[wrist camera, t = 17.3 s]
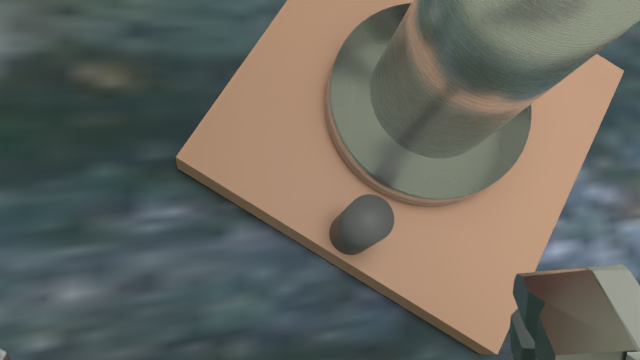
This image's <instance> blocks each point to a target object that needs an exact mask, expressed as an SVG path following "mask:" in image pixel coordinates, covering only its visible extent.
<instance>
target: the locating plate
mask: <svg viewBox="0 0 640 360" xmlns="http://www.w3.org/2000/svg"><path fill="white" fill-rule="evenodd" d="M412 1H413V0H287V1H286V3H285V4H284V6H283V7H282V8H281V10H280V11H279V13H278V14H277V15H276V17H275V18H274V20H273V21H272V23H271V24H270V25H269V27H268V28H267V30H266V31H265V32H264V34H263V35H262V37H261V38H260V39H259V41H258V42H257V44H256V45H255V46H254V48H253V49H252V51H251V52H250V53H249V55H248V56H247V58H246V59H245V60H244V62H243V63H242V65H241V66H240V67H239V69H238V70H237V72H236V73H235V75H234V76H233V77H232V79H231V80H230V82H229V83H228V84H227V86H226V87H225V89H224V90H223V91H222V93H221V94H220V96H219V97H218V98H217V100H216V101H215V103H214V104H213V105H212V107H211V108H210V110H209V111H208V112H207V114H206V115H205V117H204V118H203V119H202V121H201V122H200V124H199V125H198V126H197V128H196V129H195V131H194V132H193V134H192V135H191V136H190V138H189V139H188V141H187V142H186V143H185V145H184V146H183V148H182V149H181V150H180V152H179V153H178V155H177V156H176V162H177V168H178V169H179V170H181V171H183V172H184V173H186V174H187V175H189V176H191V177H192V178H194V179H196V180H197V181H199V182H200V183H202V184H204V185H205V186H207V187H209V188H210V189H212V190H213V191H215V192H217V193H218V194H220V195H222V196H223V197H225V198H226V199H228V200H230V201H231V202H233V203H235V204H236V205H238V206H240V207H241V208H243V209H244V210H246V211H248V212H249V213H251V214H253V215H254V216H256V217H257V218H259V219H261V220H262V221H264V222H266V223H267V224H269V225H270V226H272V227H274V228H275V229H277V230H279V231H280V232H282V233H283V234H285V235H287V236H288V237H290V238H292V239H293V240H295V241H296V242H298V243H300V244H301V245H303V246H305V247H306V248H308V249H309V250H311V251H313V252H314V253H316V254H318V255H319V256H321V257H323V258H324V259H326V260H327V261H329V262H331V263H332V264H334V265H336V266H337V267H339V268H340V269H342V270H344V271H345V272H347V273H349V274H350V275H352V276H353V277H355V278H357V279H358V280H360V281H362V282H363V283H365V284H366V285H368V286H370V287H371V288H373V289H375V290H376V291H378V292H379V293H381V294H383V295H384V296H386V297H388V298H389V299H391V300H392V301H394V302H396V303H397V304H399V305H401V306H402V307H404V308H406V309H407V310H409V311H410V312H412V313H414V314H415V315H417V316H419V317H420V318H422V319H423V320H425V321H427V322H428V323H430V324H432V325H433V326H435V327H436V328H438V329H440V330H441V331H443V332H445V333H446V334H448V335H449V336H451V337H453V338H454V339H456V340H458V341H459V342H461V343H462V344H464V345H466V346H467V347H469V348H471V349H472V350H474V351H475V352H477V353H479V354H486V355H497V354H498V352H499V350H500V348H501V346H502V343H503V341H504V339H505V337H506V334H507V332H508V330H509V328H510V319H511V315H512V314H513V313H514V312H515V311H516V310H517V308H518V307H517V304H516V301H515V299H514V296H513V285H514V279H515V277H516V274H518V273H530V272H535V269H536V267H537V265H538V263H539V260H540V258H541V256H542V254H543V251H544V249H545V247H546V245H547V242H548V240H549V238H550V236H551V233H552V231H553V229H554V227H555V225H556V222H557V220H558V218H559V216H560V213H561V211H562V209H563V207H564V204H565V202H566V200H567V198H568V195H569V193H570V191H571V189H572V186H573V184H574V182H575V180H576V177H577V175H578V173H579V171H580V169H581V166H582V164H583V162H584V160H585V157H586V155H587V153H588V151H589V148H590V146H591V144H592V142H593V139H594V137H595V135H596V133H597V130H598V128H599V126H600V124H601V121H602V119H603V117H604V115H605V113H606V110H607V108H608V106H609V104H610V101H611V99H612V97H613V95H614V92H615V90H616V88H617V86H618V83H619V81H620V79H621V77H622V74H623V72H624V71H623V70H622V69H620V68H618V67H617V66H615V65H614V64H612V63H610V62H609V61H607V60H606V59H604V58H602V57H601V56H599V55H598V54H596V55H594V56H593V57H592V58H590V59H589V60H588V61H587V62H585V63H584V64H583V65H581V66H580V67H579V68H577V69H576V70H575V71H574V72H572V73H571V74H570V75H568V76H567V77H566V78H564V79H563V80H562V81H561V82H559V83H558V84H557V85H555V86H554V87H553V88H551V89H550V90H549V91H548V92H546V93H545V94H544V95H542V96H541V97H540V98H538V99H537V100H536V101H535V102H533V103H532V104H531V110H532V118H531V126H530V131H529V135H528V139H527V142H526V144H525V147H524V149H523V152H522V153H521V155H520V157H519V158H518V160H517V162H516V163H515V164H514V165H513V167H512V168H511V169H510V170H509V171H508V172H507V173H506V174H505V175H504V176H503V177H502V178H500V179H499V180H498V181H496V182H495V183H493V184H492V185H490V186H489V187H487V188H485V189H484V190H482V191H480V192H479V193H477V194H475V195H473V196H472V197H469V198H467V199H465V200H463V201H460V202H457V203H454V204H450V205H444V206H438V207H422V206H414V205H408V204H404V203H400V202H397V201H395V200H392V199H390V198H387V197H385V196H383V195H381V194H379V193H378V192H376V191H374V190H372V189H371V188H370V187H368V186H367V185H365V184H364V183H363V182H362V181H361V180H359V179H358V178H357V177H356V176H355V175H354V174H353V173H352V172H351V171H350V169H349V168H348V167H347V166H346V165H345V164H344V162H343V161H342V159H341V158H340V156H339V154H338V153H337V151H336V149H335V147H334V145H333V143H332V141H331V138H330V135H329V132H328V129H327V125H326V120H325V114H324V95H325V88H326V84H327V79H328V77H329V74H330V71H331V69H332V66H333V64H334V62H335V59H336V57H337V55H338V52H339V50H340V48H341V47H342V45H343V43H344V41H345V40H346V38H347V37H348V36H349V35H350V33H351V32H352V31H353V30H354V29H355V28H356V27H357V26H358V25H359V24H360V23H361V22H363V21H364V20H366V19H367V18H368V17H370V16H371V15H373V14H375V13H377V12H379V11H381V10H384V9H386V8H389V7H392V6H396V5H401V4H407V3H412Z"/></svg>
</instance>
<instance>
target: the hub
mask: <svg viewBox="0 0 640 360" xmlns="http://www.w3.org/2000/svg"><path fill="white" fill-rule="evenodd" d="M639 21H640V0H413V1H412V3H407V4H401V5H396V6H392V7H389V8H386V9H384V10H381V11H379V12H377V13H375V14H373V15H371V16H370V17H368V18H367V19H366V20H364V21H363V22H361V23H360V24H359V25H358V26H357V27H356V28H355V29H354V30H353V31H352V32H351V33H350V35H349V36H348V37H347V38H346V40H345V41H344V43H343V45H342V47H341V48H340V50H339V52H338V55H337V57H336V59H335V62H334V64H333V66H332V69H331V71H330V74H329V77H328V79H327V84H326V88H325V95H324V114H325V120H326V125H327V129H328V132H329V135H330V138H331V141H332V143H333V145H334V147H335V149H336V151H337V153H338V154H339V156H340V158H341V159H342V161H343V162H344V164H345V165H346V166H347V167H348V168H349V169H350V171H351V172H352V173H353V174H354V175H355V176H356V177H357V178H358V179H359V180H361V181H362V182H363V183H364V184H365V185H367V186H368V187H370V188H371V189H372V190H374V191H376V192H378V193H379V194H381V195H383V196H385V197H387V198H390V199H392V200H395V201H397V202H400V203H404V204H408V205H414V206H422V207H438V206H444V205H450V204H454V203H457V202H460V201H463V200H465V199H467V198H469V197H472V196H473V195H475V194H477V193H479V192H480V191H482V190H484V189H485V188H487V187H489V186H490V185H492V184H493V183H495V182H496V181H498V180H499V179H500V178H502V177H503V176H504V175H505V174H506V173H507V172H508V171H509V170H510V169H511V168H512V167H513V165H514V164H515V163H516V162H517V160H518V158H519V157H520V155H521V153H522V152H523V149H524V147H525V144H526V142H527V139H528V135H529V131H530V126H531V118H532V110H531V104H532V103H533V102H535V101H536V100H537V99H538V98H540V97H541V96H542V95H544V94H545V93H546V92H548V91H549V90H550V89H551V88H553V87H554V86H555V85H557V84H558V83H559V82H561V81H562V80H563V79H564V78H566V77H567V76H568V75H570V74H571V73H572V72H574V71H575V70H576V69H577V68H579V67H580V66H581V65H583V64H584V63H585V62H587V61H588V60H589V59H590V58H592V57H593V56H594V55H596V54H597V53H598V52H600V51H601V50H602V49H603V48H605V47H606V46H607V45H609V44H610V43H611V42H613V41H614V40H615V39H616V38H618V37H619V36H620V35H622V34H623V33H624V32H626V31H627V30H628V29H629V28H631V27H632V26H633V25H635V24H636V23H637V22H639Z"/></svg>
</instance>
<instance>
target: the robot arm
mask: <svg viewBox="0 0 640 360" xmlns="http://www.w3.org/2000/svg"><path fill="white" fill-rule="evenodd" d="M513 296H514V299H515V301H516V304H517V307H518V308H517V310H516V311H515V312H514V313H513V314H512V315H511V319H510V339H511V350H512V354H513V359H514V360H640V285H639V284H638V282H637V281H636V279H635V278H634V276H633V275H632V273H631V272H630V270H629V269H628V268H627V267H625V266H624V265H622V264H617V265H606V266H595V267H586V268H577V269H565V270H553V271H542V272H530V273H518V274H516V277H515V279H514V285H513ZM0 360H10V358H9V356H8V354H7V352H5V351H4V350H2V349H0Z"/></svg>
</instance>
